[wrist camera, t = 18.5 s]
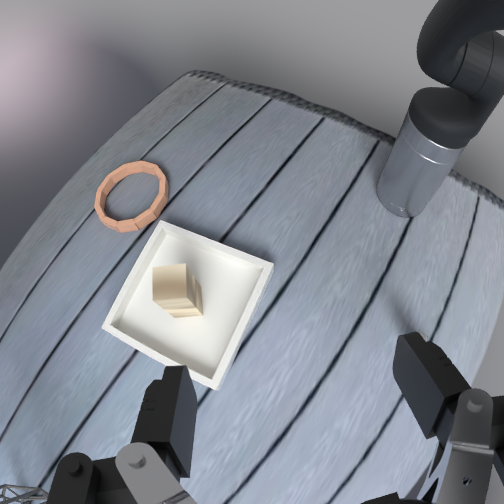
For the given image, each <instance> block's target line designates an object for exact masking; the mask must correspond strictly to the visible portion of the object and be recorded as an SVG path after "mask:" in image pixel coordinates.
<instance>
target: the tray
mask: <svg viewBox="0 0 504 504" xmlns="http://www.w3.org/2000/svg"><path fill="white" fill-rule="evenodd" d="M184 263H186V265H187V266H188V268H189V269H190V271H191V272H192V274H193V275H194V277H195V279H196V280H197V282H198V283H199V285H200V286H201V291H202V307H203V315H202V316H192V317H180V318H174V317H173V316H172V315H170V314H169V313H168V312H166V311H165V310H164V309H163V308H161V307H160V306H159V305H157V304H156V303H155V302H154V301H153V293H152V274H153V267H159V266H167V265H176V264H184ZM273 272H274V264H273V263H270V262H268V261H265V260H263V259H260V258H257V257H255V256H252V255H250V254H247V253H245V252H242V251H239V250H237V249H234V248H232V247H229V246H226V245H224V244H221V243H219V242H216V241H214V240H211V239H208V238H206V237H203V236H201V235H198V234H195V233H193V232H190V231H188V230H185V229H183V228H180V227H177V226H175V225H172V224H170V223H167V222H165V221H162V220H160V222H159V223H158V225H157V227H156V228H155V230H154V232H153V233H152V235H151V237H150V239H149V240H148V242H147V244H146V245H145V247H144V249H143V251H142V252H141V254H140V256H139V258H138V259H137V261H136V263H135V265H134V267H133V268H132V270H131V272H130V274H129V276H128V278H127V279H126V281H125V283H124V285H123V287H122V289H121V291H120V292H119V294H118V296H117V298H116V300H115V302H114V304H113V306H112V308H111V310H110V312H109V314H108V316H107V318H106V320H105V322H104V324H103V326H102V328H103V329H104V330H106V331H107V332H109V333H111V334H112V335H114V336H115V337H117V338H119V339H120V340H122V341H124V342H125V343H127V344H129V345H130V346H132V347H134V348H136V349H137V350H139V351H141V352H143V353H144V354H146V355H148V356H150V357H151V358H153V359H155V360H157V361H159V362H161V363H162V364H164V365H166V366H177V365H186V366H187V368H188V370H189V374H190V377H191V379H193V380H195V381H197V382H199V383H202V384H204V385H206V386H208V387H210V388H212V389H214V390H220V388H221V386H222V384H223V382H224V380H225V378H226V375H227V373H228V371H229V369H230V367H231V365H232V363H233V360H234V358H235V356H236V354H237V352H238V350H239V348H240V345H241V343H242V341H243V339H244V337H245V334H246V332H247V330H248V328H249V326H250V323H251V321H252V319H253V317H254V315H255V312H256V310H257V308H258V306H259V304H260V301H261V299H262V297H263V295H264V292H265V290H266V288H267V286H268V283H269V281H270V279H271V277H272V274H273Z"/></svg>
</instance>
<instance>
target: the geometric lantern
mask: <svg viewBox="0 0 504 504" xmlns="http://www.w3.org/2000/svg"><path fill="white" fill-rule="evenodd" d="M8 487H9V488H8ZM2 488H3V491H2V495H0V498H3V500H4V501H1V502H0V504H8V503H11V502H14V501H16V502H19V503H21V504H26V503H28V504H30V500H47V499H48V495H49V494H48V493H47V492H46V491H44V490H43V489H42V488H36V487H25V486H15V485H7V484H4V485H0V489H2ZM6 488H7V489H8V490H9V491H11V492H12V493H14V494H15V495H16V496H17V497H14V498H8V497H5V496H4V495H5V491H6ZM10 488H16V489H25V490H33V491H30V492H28V493H25V494H22V495H18V494H16V493H15V492H14V491H12V490H11V489H10ZM37 492H41V493H42V494H43V495H44V496H30V495H33V494H35V493H37ZM46 495H47V496H46ZM27 496H28V497H27ZM25 497H26V498H25ZM6 499H8V500H6ZM19 499H22V500H21V501H18V500H19ZM24 500H28V501H26V502H23V501H24ZM46 502H47V501H46ZM46 502H43V503H40V504H46Z"/></svg>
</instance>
